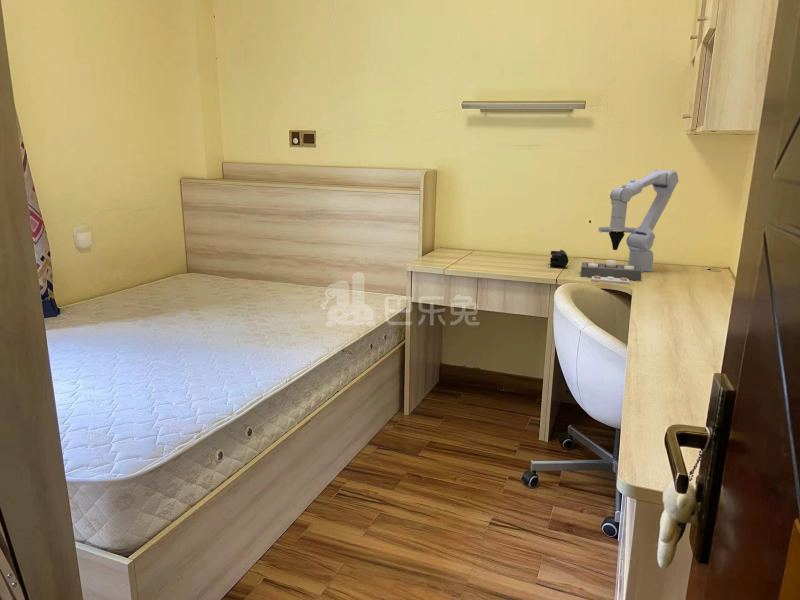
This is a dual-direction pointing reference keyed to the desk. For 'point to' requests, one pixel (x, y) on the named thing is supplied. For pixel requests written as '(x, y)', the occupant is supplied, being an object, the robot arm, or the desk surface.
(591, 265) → the button
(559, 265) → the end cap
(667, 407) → the desk surface
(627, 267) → the button
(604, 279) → the pattern card
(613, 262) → the button
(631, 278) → the grey slotted tray
